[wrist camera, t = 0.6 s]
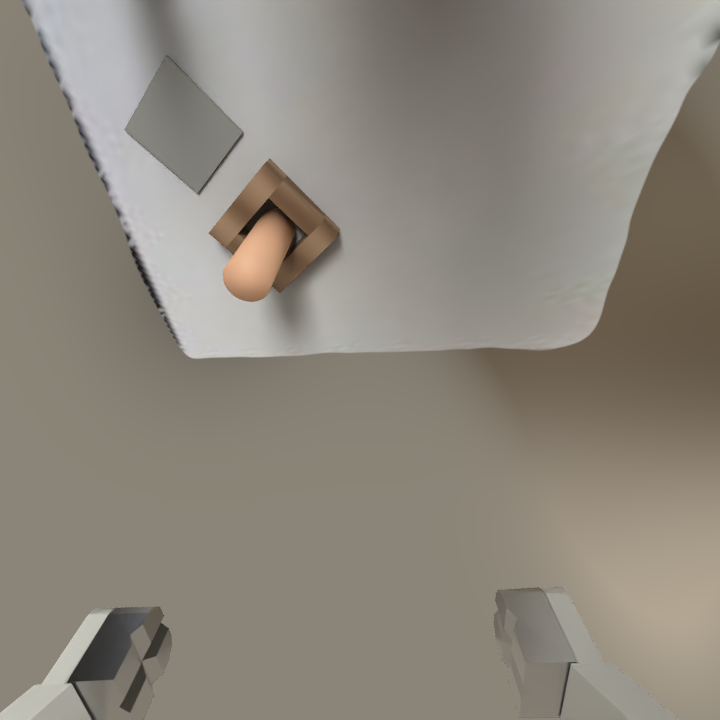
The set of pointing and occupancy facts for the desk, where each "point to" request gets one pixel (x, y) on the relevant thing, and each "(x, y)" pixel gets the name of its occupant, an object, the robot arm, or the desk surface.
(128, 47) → the desk surface
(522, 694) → the robot arm
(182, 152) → the mat
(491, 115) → the desk surface
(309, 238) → the holder
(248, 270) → the peg
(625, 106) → the desk surface
